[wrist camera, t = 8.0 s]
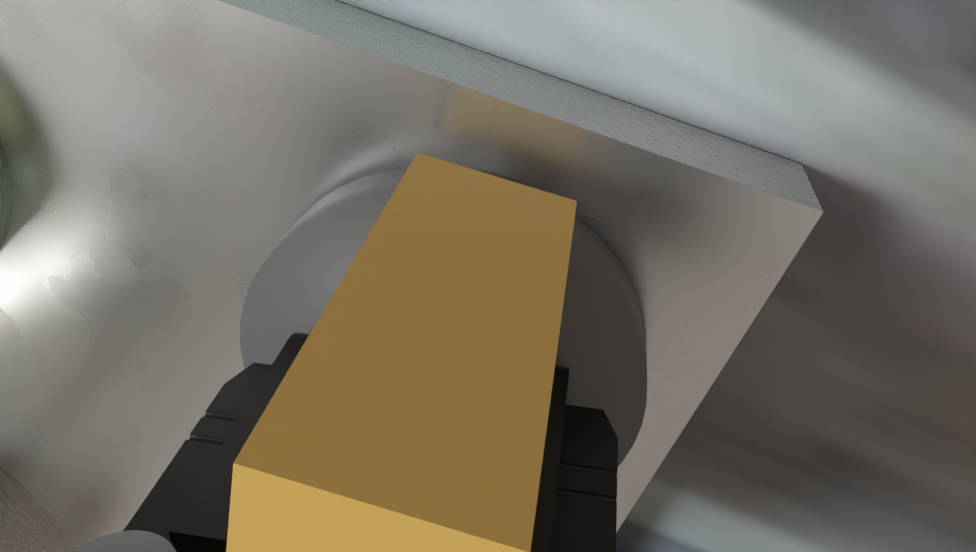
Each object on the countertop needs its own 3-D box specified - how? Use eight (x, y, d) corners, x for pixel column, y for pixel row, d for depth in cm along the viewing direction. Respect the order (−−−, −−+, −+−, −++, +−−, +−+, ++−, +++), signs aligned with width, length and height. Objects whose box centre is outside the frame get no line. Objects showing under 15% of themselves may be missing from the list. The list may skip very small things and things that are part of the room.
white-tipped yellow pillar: (288, 77, 10) (-71, 378, 5) (727, 211, 10) (828, 648, 5) (252, 441, 14) (34, 813, 9) (565, 535, 14) (527, 960, 9)
